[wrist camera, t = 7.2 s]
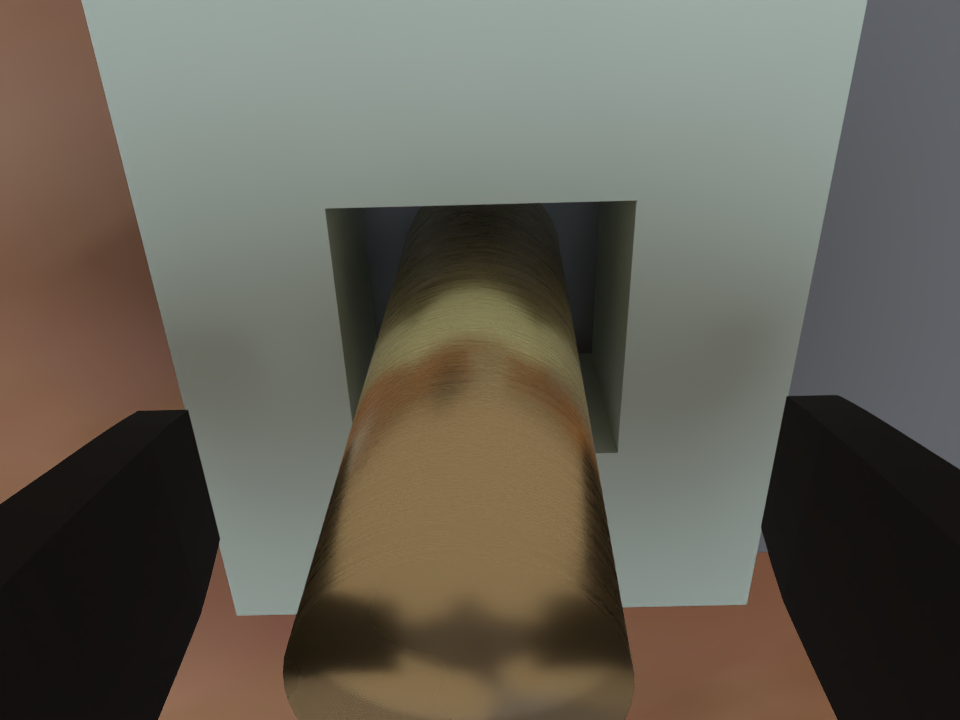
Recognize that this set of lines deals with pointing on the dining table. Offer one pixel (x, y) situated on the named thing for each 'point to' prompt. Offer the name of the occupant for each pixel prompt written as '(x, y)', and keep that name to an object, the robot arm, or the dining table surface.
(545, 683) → the brass peg
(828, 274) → the rubber mat
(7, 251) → the dining table surface
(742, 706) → the dining table surface
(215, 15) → the hole block
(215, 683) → the dining table surface
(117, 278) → the dining table surface
